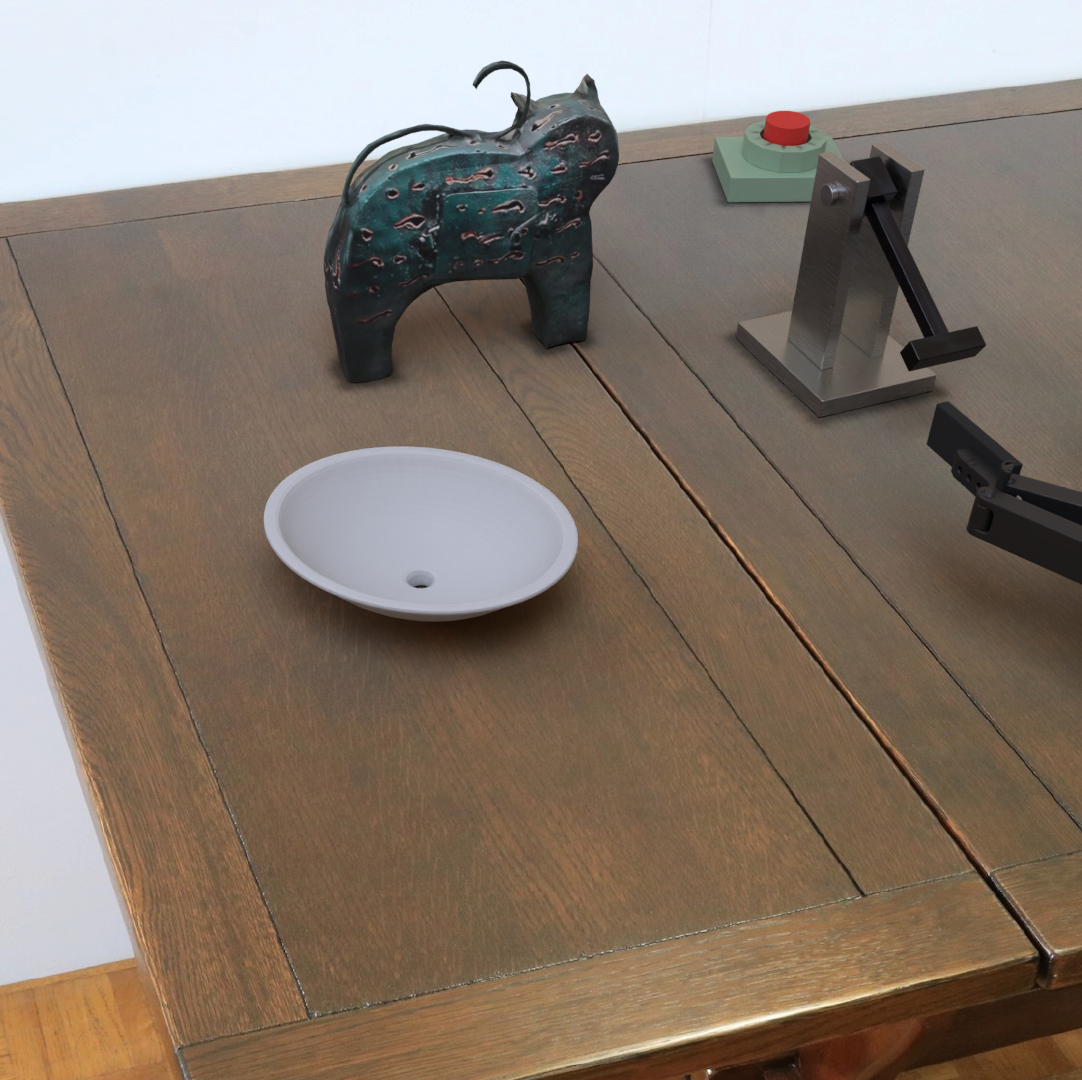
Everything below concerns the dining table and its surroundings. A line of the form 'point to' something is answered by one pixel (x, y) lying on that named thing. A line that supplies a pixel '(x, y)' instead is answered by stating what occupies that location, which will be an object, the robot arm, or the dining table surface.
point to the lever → (912, 280)
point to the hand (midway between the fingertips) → (1035, 398)
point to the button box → (768, 166)
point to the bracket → (843, 297)
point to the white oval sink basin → (420, 532)
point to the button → (786, 128)
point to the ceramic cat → (471, 221)
